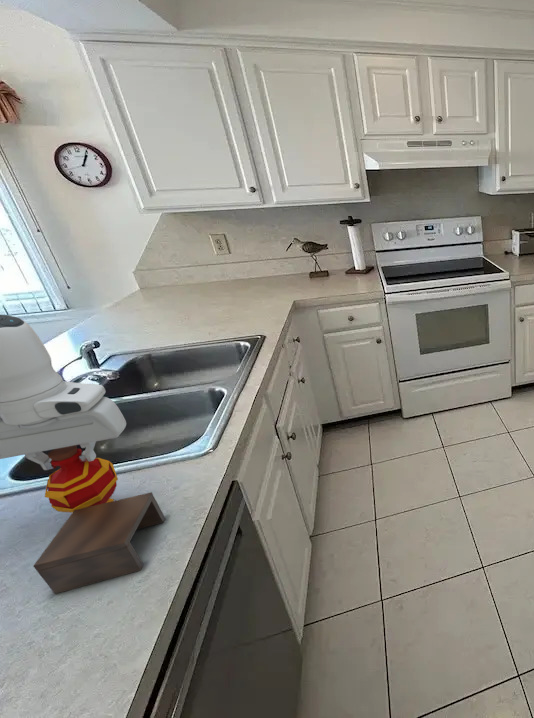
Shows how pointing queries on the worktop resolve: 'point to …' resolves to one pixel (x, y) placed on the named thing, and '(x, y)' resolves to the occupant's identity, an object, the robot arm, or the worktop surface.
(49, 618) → the worktop surface
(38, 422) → the robot arm
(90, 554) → the shelf
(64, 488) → the potion bottle
